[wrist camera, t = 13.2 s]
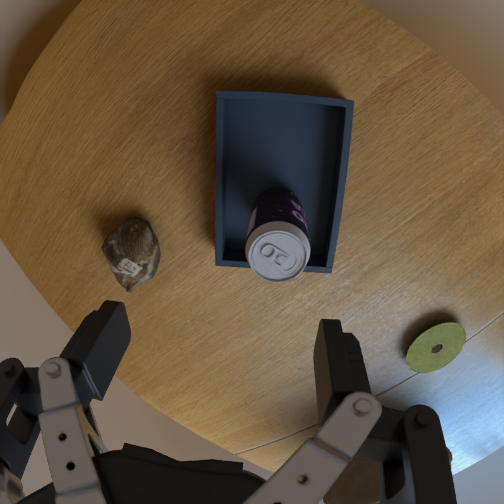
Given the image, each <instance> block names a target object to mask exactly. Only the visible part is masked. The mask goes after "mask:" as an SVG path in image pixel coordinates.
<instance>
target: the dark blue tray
mask: <svg viewBox="0 0 504 504" xmlns="http://www.w3.org/2000/svg"><path fill="white" fill-rule="evenodd" d="M216 98H217V99H216V130H215V259H216V260H215V264H216V266H229V267H243V268H251V267H250V265H249V263H248V261H247V259H246V256H245V242H246V238H247V233H248V228H249V223H250V219H251V214H252V209H253V205H254V202H255V200H256V198H257V197H258V196H259V195H260V194H261V193H262V192H263V191H265V190H267V189H270V188H275V187H280V188H285V189H288V190H290V191H292V192H293V193H295V194H296V195H297V196H298V198H299V199H300V201H301V203H302V207H303V211H304V216H305V220H306V225H307V230H308V235H309V239H310V244H311V255H310V258H309V261H308V263H307V264H306V266H305V268H304V270H303V271H302V272H317V273H332V267H333V262H334V256H335V250H336V244H337V238H338V232H339V226H340V219H341V212H342V205H343V198H344V191H345V183H346V175H347V167H348V159H349V150H350V140H351V130H352V119H353V107H354V101H352V100H345V99H338V98H330V97H322V96H312V95H302V94H290V93H275V92H255V91H216Z"/></svg>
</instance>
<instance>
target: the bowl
mask: <svg viewBox="0 0 504 504" xmlns="http://www.w3.org/2000/svg"><path fill="white" fill-rule="evenodd" d="M446 448H447V447H446ZM447 453H448V458H449V462H450V467H451V461H452V454H451V452H450V450H449V449H448V448H447ZM323 501H324V503H325V504H380V488H379V474H378V462H376V461H372V460H367V459H362V458H358V457H354V458H353V459H352V460H351V462H350V463H349V465H348V466H347V467H346V469H345V470H344V471H343V473H342V474H341V475H340V477H339V478H338V479H337V480H336V482H335V483H334V484H333V486H332V487H331V488H330V489H329V491H328V492H327V493H326V494H325V496H324V497H323Z"/></svg>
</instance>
